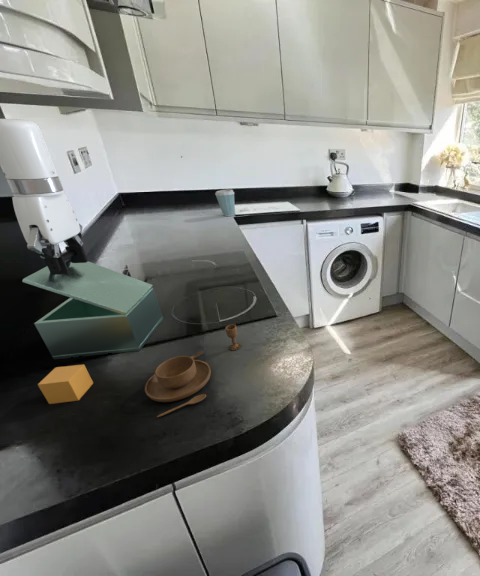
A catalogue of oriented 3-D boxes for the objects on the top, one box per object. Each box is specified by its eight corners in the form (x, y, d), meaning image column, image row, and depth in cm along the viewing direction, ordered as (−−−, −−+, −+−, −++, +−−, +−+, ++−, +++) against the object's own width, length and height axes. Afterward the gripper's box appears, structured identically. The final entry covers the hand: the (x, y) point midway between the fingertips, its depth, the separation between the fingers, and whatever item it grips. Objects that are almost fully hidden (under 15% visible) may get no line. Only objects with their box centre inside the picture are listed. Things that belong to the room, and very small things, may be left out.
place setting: (144, 371, 72) (136, 350, 69) (239, 341, 82) (234, 321, 80) (150, 424, 59) (140, 400, 56) (260, 380, 70) (256, 358, 67)
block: (49, 404, 63) (37, 384, 61) (65, 386, 67) (55, 367, 65) (78, 400, 64) (68, 381, 62) (93, 382, 68) (84, 364, 66)
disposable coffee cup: (224, 218, 193) (219, 192, 187) (216, 215, 200) (211, 190, 193) (241, 215, 201) (237, 190, 194) (232, 212, 207) (228, 188, 200)
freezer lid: (21, 282, 66) (27, 261, 65) (68, 256, 79) (73, 239, 78) (125, 315, 74) (131, 298, 72) (152, 287, 87) (158, 272, 85)
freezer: (53, 359, 75) (33, 323, 70) (91, 325, 88) (76, 293, 83) (139, 350, 78) (126, 315, 74) (163, 319, 91) (153, 287, 87)
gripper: (45, 180, 73) (75, 255, 81) (-24, 194, 58) (21, 285, 65) (84, 180, 74) (109, 254, 82) (26, 194, 59) (65, 283, 67)
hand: (70, 267), depth 74 cm, fingers closed on freezer lid, 6 cm apart
